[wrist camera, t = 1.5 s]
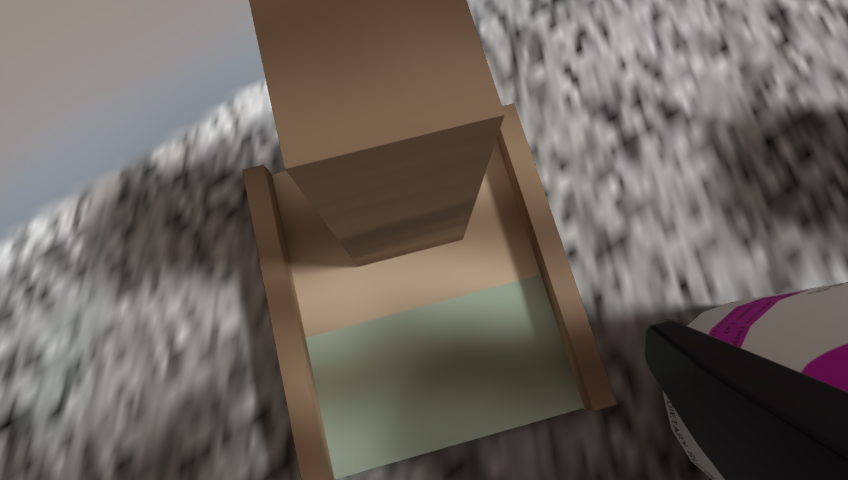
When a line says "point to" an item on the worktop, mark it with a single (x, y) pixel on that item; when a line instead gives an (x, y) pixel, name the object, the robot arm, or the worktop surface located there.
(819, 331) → the supplement can
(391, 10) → the walnut block
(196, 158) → the worktop surface
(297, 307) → the tray
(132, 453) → the worktop surface
